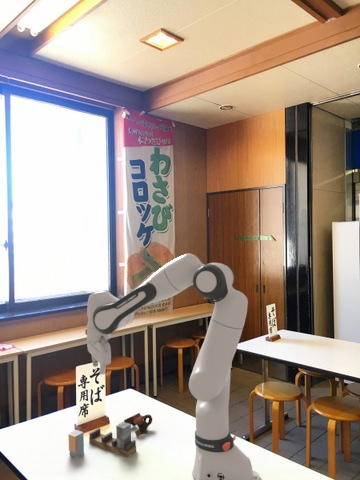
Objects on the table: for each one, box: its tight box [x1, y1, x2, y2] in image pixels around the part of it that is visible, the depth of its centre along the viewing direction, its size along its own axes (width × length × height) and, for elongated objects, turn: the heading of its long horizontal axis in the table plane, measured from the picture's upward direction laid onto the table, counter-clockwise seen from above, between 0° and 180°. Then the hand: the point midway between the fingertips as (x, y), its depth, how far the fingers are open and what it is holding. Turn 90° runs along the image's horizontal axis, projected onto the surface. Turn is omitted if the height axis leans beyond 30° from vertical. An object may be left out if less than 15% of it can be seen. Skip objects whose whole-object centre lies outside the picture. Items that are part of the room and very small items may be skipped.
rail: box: [88, 421, 137, 458], centre depth 155 cm, size 20×5×10 cm, turn 56°
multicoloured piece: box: [68, 429, 85, 458], centre depth 151 cm, size 4×4×8 cm
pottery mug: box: [123, 412, 153, 438], centre depth 168 cm, size 12×10×8 cm
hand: (98, 369), depth 152 cm, fingers open, 8 cm apart
